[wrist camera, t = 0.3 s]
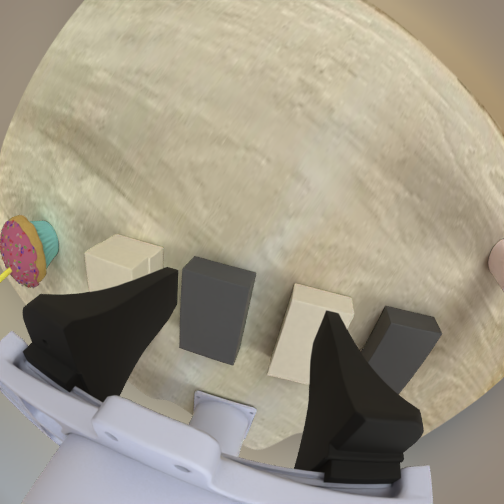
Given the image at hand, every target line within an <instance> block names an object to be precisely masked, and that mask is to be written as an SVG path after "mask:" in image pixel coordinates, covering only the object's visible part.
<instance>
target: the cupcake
mask: <svg viewBox="0 0 504 504" xmlns="http://www.w3.org/2000/svg"><path fill="white" fill-rule="evenodd" d="M1 231H2V232H1V234H0V236H1V237H0V253H1V255H2V258H3V261H4V264H5V267H6V268H7V269H6V270H5V271H4V272H3V273H2V274H1V275H0V283H1V282H2V281H3V280H4V279H5V278H6V277H7V276H8V275H9V274H10V275H11V276H12V277H13V278H14V279H15V280H16V281H18V283H19V284H23V285H22V286H24V285H25V286H26V287H28V288H29V287H30V288H31V287H33V288H34V287H36V286H38V285H39V282H40V281H42V279H43V278H44V277H45V275H46V269H47V267H48V265H49V264H50V262H51V261H52V259H53V258H54V257H55V256H56V255H57V253H58V249H59V244H58V238H57V235H56V233H55V231H54V229H53V227H52V226H51V225H50V224H49V223H48V222H46V221H28V220H27V218H26V217H24V216H22V215H18V216H14V217H12V218H11V219H10V220H8V221H7V222H6V223H5V224H4V225H3V229H2V230H1Z"/></svg>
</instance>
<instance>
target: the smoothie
mask: <svg viewBox="0 0 504 504" xmlns="http://www.w3.org/2000/svg"><path fill="white" fill-rule="evenodd" d="M488 265H489V270H490V272H491V273H492V275H493V276H494V278H495V279H496V281H497V282H498V284H499V285H500V287H501V289H502V290H503V292H504V239H502V240H500V241H499V242H497V243H496V245H495V246H494V247H493V249H492V251H491V253H490V256H489V262H488Z"/></svg>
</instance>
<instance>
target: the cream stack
mask: <svg viewBox="0 0 504 504" xmlns="http://www.w3.org/2000/svg"><path fill="white" fill-rule="evenodd" d="M163 253H164V248H163V247H160V246H157V245H153V244H150V243H146V242H143V241H139V240H136V239H133V238H129V237H126V236H122V235H119V234H115V235H114V236H112V237H110V238H109V239H107V240H105V241H104V242H100V243H99V244H97V245H95V246H94V247H92V248H91V249H89V250H87V251H86V252H85V253H84V255H85V263H86V271H87V279H88V286H89V292H92V291H98V290H103V289H107V288H111V287H114V286H118V285H120V284H123V283H126V282H129V281H132V280H135V279H137V278H140V277H142V276H145V275H148V274H150V273H152V272H155V271H158V270H160V269H163Z"/></svg>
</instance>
